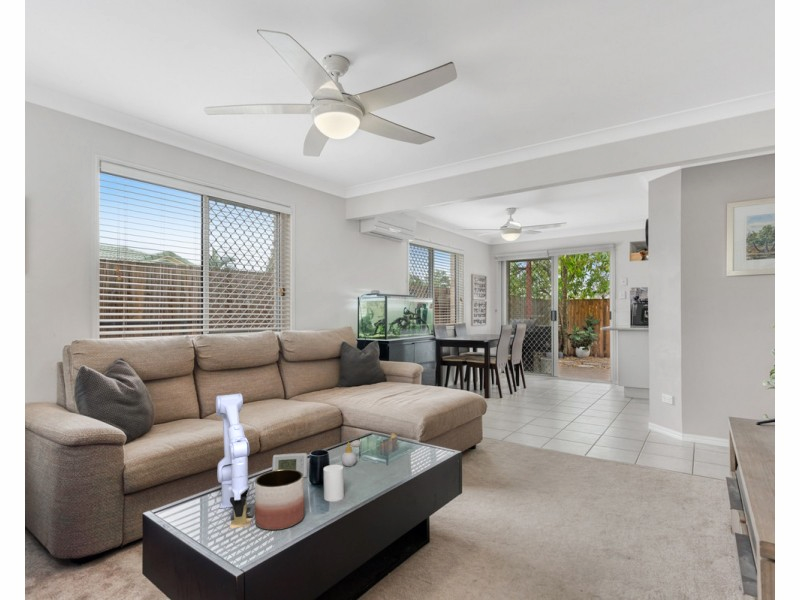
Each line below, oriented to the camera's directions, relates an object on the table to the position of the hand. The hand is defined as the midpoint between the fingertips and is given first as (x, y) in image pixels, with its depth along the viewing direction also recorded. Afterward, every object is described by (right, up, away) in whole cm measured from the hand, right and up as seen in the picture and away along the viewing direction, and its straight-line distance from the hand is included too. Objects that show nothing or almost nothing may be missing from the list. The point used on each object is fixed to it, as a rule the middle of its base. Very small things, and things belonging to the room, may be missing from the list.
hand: (240, 511), depth 162 cm
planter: (+14, -4, +2) cm, 15 cm away
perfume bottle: (+34, -5, +58) cm, 68 cm away
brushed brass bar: (0, -4, 0) cm, 4 cm away
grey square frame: (-2, -5, +8) cm, 9 cm away
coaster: (0, -4, 0) cm, 4 cm away
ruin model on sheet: (+53, -5, +76) cm, 93 cm away
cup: (+31, -4, +21) cm, 38 cm away
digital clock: (+7, -5, +44) cm, 45 cm away
